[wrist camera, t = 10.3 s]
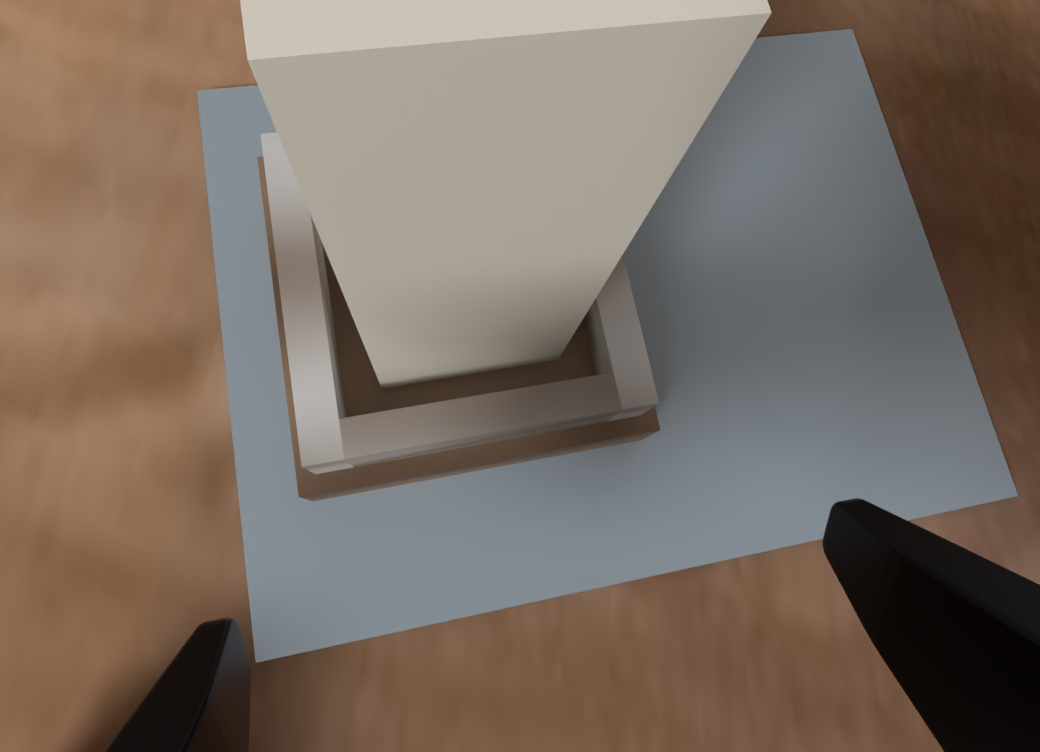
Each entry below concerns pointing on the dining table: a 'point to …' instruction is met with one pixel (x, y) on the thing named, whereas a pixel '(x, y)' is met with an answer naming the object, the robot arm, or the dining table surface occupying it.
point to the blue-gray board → (676, 373)
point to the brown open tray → (439, 403)
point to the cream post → (485, 155)
